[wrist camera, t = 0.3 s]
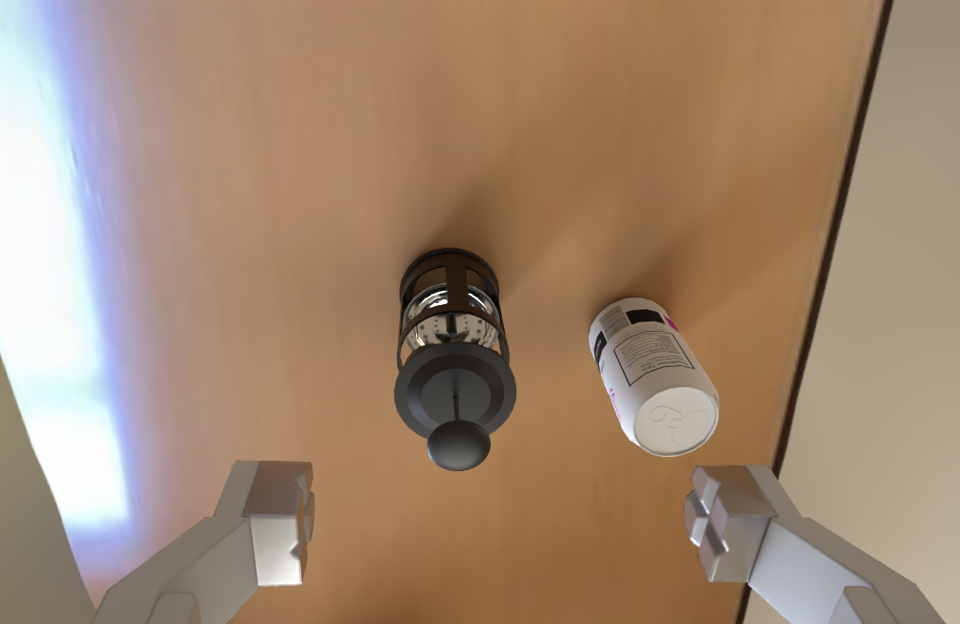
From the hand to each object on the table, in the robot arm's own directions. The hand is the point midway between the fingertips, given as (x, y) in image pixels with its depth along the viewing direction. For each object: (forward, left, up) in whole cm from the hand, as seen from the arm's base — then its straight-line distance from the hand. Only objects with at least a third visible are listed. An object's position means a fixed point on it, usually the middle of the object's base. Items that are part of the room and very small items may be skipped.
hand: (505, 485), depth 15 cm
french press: (+19, +1, -47) cm, 51 cm away
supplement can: (+22, +19, -47) cm, 56 cm away
